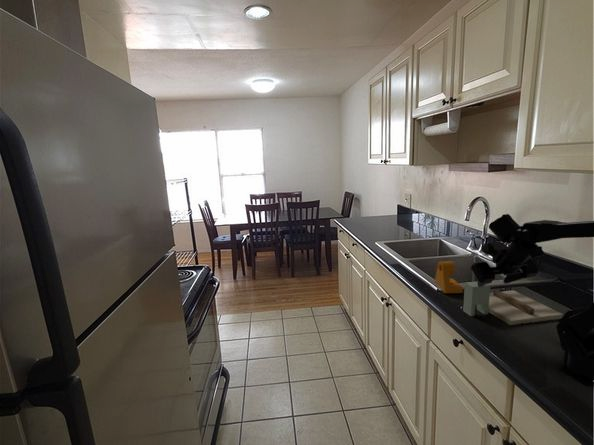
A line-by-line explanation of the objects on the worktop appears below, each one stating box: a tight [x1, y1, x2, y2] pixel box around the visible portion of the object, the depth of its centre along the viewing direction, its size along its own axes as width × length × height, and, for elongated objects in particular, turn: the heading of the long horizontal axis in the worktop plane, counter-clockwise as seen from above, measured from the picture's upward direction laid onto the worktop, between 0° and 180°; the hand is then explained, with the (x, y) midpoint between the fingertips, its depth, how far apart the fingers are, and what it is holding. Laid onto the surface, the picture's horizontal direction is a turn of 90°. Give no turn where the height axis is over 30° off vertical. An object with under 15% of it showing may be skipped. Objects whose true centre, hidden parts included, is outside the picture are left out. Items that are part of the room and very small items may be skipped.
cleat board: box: [488, 289, 564, 326], centre depth 114 cm, size 20×19×4 cm
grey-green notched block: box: [462, 280, 491, 317], centre depth 111 cm, size 4×6×10 cm, turn 99°
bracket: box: [434, 260, 464, 294], centre depth 131 cm, size 11×7×12 cm, turn 176°
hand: (491, 284), depth 104 cm, fingers open, 9 cm apart
